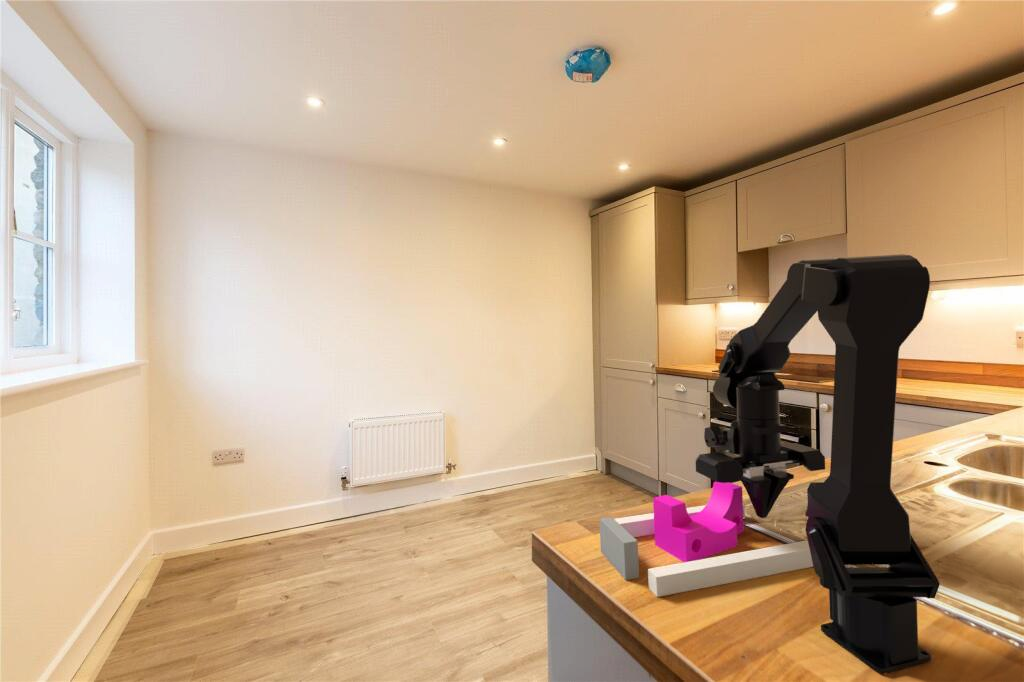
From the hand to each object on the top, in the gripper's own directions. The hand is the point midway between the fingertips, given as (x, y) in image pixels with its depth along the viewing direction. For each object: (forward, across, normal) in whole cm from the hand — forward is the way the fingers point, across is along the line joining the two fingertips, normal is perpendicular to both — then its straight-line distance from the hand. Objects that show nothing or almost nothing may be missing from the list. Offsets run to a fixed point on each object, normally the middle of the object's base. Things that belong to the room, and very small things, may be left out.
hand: (761, 516), depth 68 cm
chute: (+3, +11, 0) cm, 12 cm away
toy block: (+4, +8, -2) cm, 9 cm away
